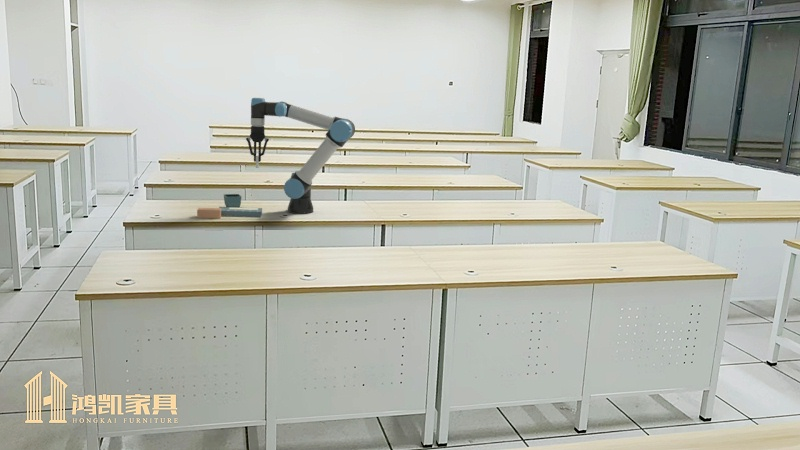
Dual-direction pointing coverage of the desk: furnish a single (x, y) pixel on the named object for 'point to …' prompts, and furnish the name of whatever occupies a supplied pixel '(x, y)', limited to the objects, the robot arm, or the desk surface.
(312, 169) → the robot arm
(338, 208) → the desk surface
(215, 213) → the pink rectangular block
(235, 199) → the flower pot
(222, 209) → the blue-grey flat slab
